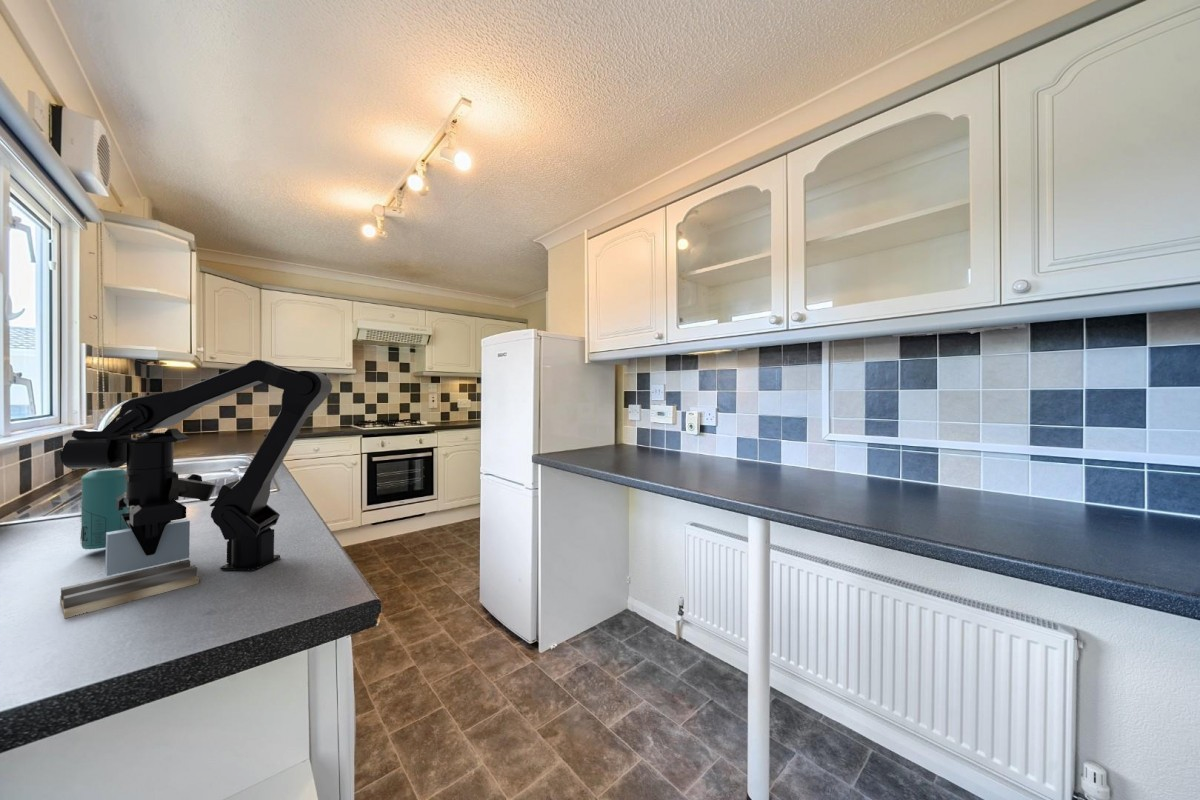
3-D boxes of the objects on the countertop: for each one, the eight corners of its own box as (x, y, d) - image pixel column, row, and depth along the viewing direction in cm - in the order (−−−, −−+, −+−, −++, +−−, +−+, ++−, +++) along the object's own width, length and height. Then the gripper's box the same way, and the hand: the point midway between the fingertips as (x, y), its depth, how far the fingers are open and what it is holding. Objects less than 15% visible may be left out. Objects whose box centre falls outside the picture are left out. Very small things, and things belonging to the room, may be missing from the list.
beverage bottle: (139, 546, 86) (140, 451, 86) (97, 558, 80) (99, 455, 80) (112, 544, 87) (113, 450, 87) (68, 556, 80) (70, 454, 80)
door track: (186, 571, 75) (186, 557, 75) (198, 583, 70) (198, 568, 70) (60, 601, 63) (60, 585, 63) (64, 618, 59) (64, 601, 59)
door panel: (186, 555, 79) (187, 518, 79) (189, 557, 78) (189, 520, 78) (105, 572, 71) (105, 532, 70) (107, 576, 69) (107, 534, 69)
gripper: (225, 467, 75) (224, 551, 75) (197, 457, 86) (196, 531, 86) (134, 475, 66) (132, 572, 66) (116, 463, 77) (114, 546, 77)
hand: (149, 553), depth 74 cm, fingers closed on door panel, 2 cm apart
